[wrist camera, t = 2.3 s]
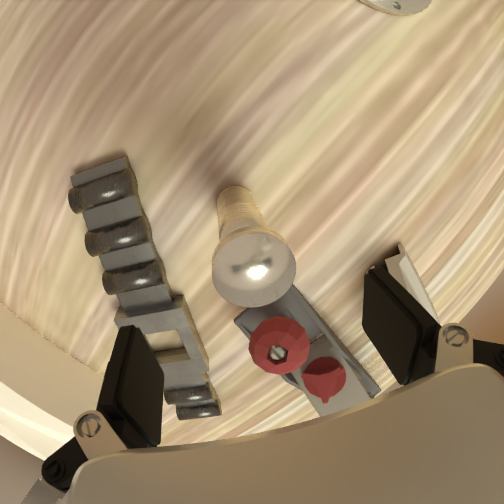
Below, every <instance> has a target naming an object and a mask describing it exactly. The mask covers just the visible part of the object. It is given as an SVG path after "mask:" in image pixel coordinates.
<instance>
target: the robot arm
mask: <svg viewBox="0 0 504 504" xmlns="http://www.w3.org/2000/svg"><path fill="white" fill-rule="evenodd" d="M359 1H361V2H362V3H364V4H366V5H368V6H370V7H372V8H374V9H376V10H379V11H382V12H384V13H388V14H393V15H401V16H407V15H412V14H416V13H418V12H421V11H423V10H424V9H426V8H427V7H428V6H429V4H430V3H431V1H432V0H359ZM362 326H363V329H364V331H365V333H366V334H367V336H368V337H369V339H370V340H371V342H372V343H373V345H374V346H375V348H376V349H377V351H378V352H379V354H380V355H381V357H382V358H383V360H384V361H385V363H386V364H387V366H388V367H389V369H390V370H391V372H392V374H393V375H394V377H395V378H396V380H397V381H398V383H399V384H400V385H402V384H403V385H404V386H403V387H401V388H398V389H396V390H393V391H391V392H389V393H386V394H384V395H381V396H379V397H376V398H374V399H371V400H369V401H366V402H363V403H361V404H358V405H355V406H352V407H350V408H347V409H344V410H341V411H338V412H335V413H332V414H329V415H325V416H322V417H319V418H316V419H312V420H309V421H305V422H302V423H298V424H294V425H290V426H287V427H283V428H278V429H274V430H270V431H265V432H261V433H256V434H251V435H246V436H240V437H235V438H229V439H223V440H216V441H209V442H202V443H193V444H184V445H174V446H163V447H157V445H159V444H160V442H161V423H162V406H163V391H164V372H163V370H162V368H161V366H160V365H159V363H158V361H157V359H156V358H155V356H154V354H153V352H152V350H151V348H150V347H149V345H148V343H147V341H146V339H145V337H144V335H143V333H142V331H141V330H140V328H139V327H137V328H136V327H135V326H134V325H128V326H122V327H120V329H119V331H118V335H117V338H116V341H115V344H114V348H113V351H112V355H111V358H110V361H109V362H108V365H107V369H106V372H105V376H104V380H103V383H102V387H101V391H100V395H99V399H98V403H97V407H96V410H89V411H85V412H84V413H82V414H81V415H79V416H78V417H77V419H76V420H75V422H74V425H73V432H74V435H75V436H74V437H73V438H72V439H70V440H69V441H68V442H67V443H65V444H64V445H63V446H62V447H60V448H59V449H58V450H57V451H55V452H54V453H53V454H52V455H50V456H49V457H48V458H47V459H46V460H45V461H44V463H43V465H42V476H43V478H42V480H41V479H39V478H38V480H37V481H36V482H35V484H34V485H33V487H32V488H31V490H30V491H29V492H28V494H27V495H26V497H25V498H24V500H23V501H22V503H21V504H504V345H503V344H497V343H491V342H485V341H480V340H474V339H473V337H472V333H471V332H470V330H469V329H468V328H467V327H466V326H464V325H462V324H459V323H448V324H446V325H444V326H442V327H441V325H440V324H439V323H438V322H437V321H436V320H435V319H434V318H433V317H432V316H431V315H430V314H429V313H428V311H427V310H426V309H425V308H424V307H423V306H422V305H421V304H420V303H419V302H418V301H417V300H416V299H415V298H414V297H413V296H412V295H411V294H410V293H409V292H408V291H407V290H406V289H405V288H404V287H403V286H402V285H401V284H400V283H399V282H398V281H397V280H396V279H395V278H394V277H393V276H392V275H391V274H390V273H389V272H388V271H387V270H386V269H384V268H383V267H382V266H379V267H376V268H372V269H369V270H368V273H367V274H365V277H364V300H363V316H362Z"/></svg>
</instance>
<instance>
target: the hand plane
mask: <svg viewBox="0 0 504 504" xmlns="http://www.w3.org/2000/svg"><path fill="white" fill-rule="evenodd" d="M234 323H235V324H236V325H237V326H238V327H239V328H240V329H241V330H242V332H243V333H244V334H245V335H246V336H247V338H248V339H249V340H250V343H249V352H250V354H251V356H252V359H253V361H254V363H255V364H256V365H258V366H259V367H260V368H262V369H263V370H264V371H266V372H269V373H274V374H279V375H281V376H282V378H283V379H284V380H285V381H286V382H288V383H289V384H291V385H293V386H295V387H297V388H299V389H301V390H302V391H303V392H304V393H305V395H306V396H307V398H308V399H309V401H310V402H311V404H312V405H313V407H314V408H315V410H316V411H317V412H318V414H319V415H320V417H322V416H325V415H329V414H332V413H335V412H338V411H341V410H344V409H347V408H350V407H352V406H355V405H358V404H361V403H363V402H366V401H369V400H371V399H374V396H375V395H377V394H378V393H379V392H380V391H381V389H380V388H379V386H378V385H377V384H376V383H375V382H374V380H373V379H372V378H371V377H370V375H369V374H368V373H367V372H366V371H365V369H364V368H363V367H362V366H361V365H360V363H359V362H358V361H357V360H356V359H355V357H354V356H353V355H352V354H351V353H350V351H349V350H348V349H347V348H346V347H345V345H344V344H343V343H342V342H341V341H340V340H339V338H338V337H337V336H336V335H335V334H334V332H333V331H332V330H331V329H330V328H329V326H328V325H327V324H326V323H325V322H324V320H323V319H322V318H321V317H320V316H319V315H318V313H317V312H316V311H315V310H314V309H313V307H312V306H311V305H310V304H309V303H308V301H307V300H306V299H305V298H304V297H303V296H302V294H301V293H300V292H299V291H298V290H297V289H296V287H295V286H294V285H293V284H292V285H291V287H290V288H289V289H288V291H287V292H286V293H285V294H284V295H283V296H282V297H280V298H279V299H277V300H276V301H274V302H272V303H270V304H268V305H264V306H260V307H252V308H250V307H248V308H247V309H246V310H245V311H244V312H243V313H242V314H240V315H239V316H238V317H237V318H236V319H235V320H234ZM322 332H323V333H324V334H325V335H324V336H323V337H321V338H319V339H318V340H316V341H315V342H313V343H312V344H310V340H311V339H313V338H314V337H316V336H317V335H319V334H320V333H322Z"/></svg>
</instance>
